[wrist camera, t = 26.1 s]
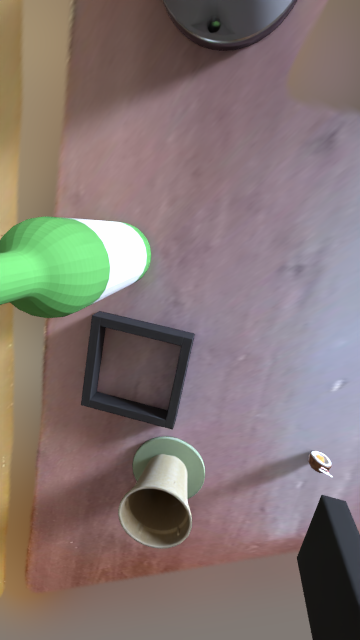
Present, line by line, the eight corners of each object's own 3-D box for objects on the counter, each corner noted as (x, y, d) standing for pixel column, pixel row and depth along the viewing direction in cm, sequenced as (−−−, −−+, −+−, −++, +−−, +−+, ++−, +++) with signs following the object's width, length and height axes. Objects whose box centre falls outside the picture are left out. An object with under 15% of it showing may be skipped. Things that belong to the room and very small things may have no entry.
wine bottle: (83, 253, 44) (-200, 293, 15) (122, 208, 42) (-124, 157, 13) (125, 295, 44) (-71, 412, 16) (165, 254, 42) (22, 302, 14)
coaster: (120, 453, 51) (118, 455, 50) (180, 425, 48) (179, 427, 48) (158, 508, 53) (157, 511, 52) (218, 484, 50) (218, 486, 49)
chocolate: (301, 456, 46) (307, 477, 43) (310, 444, 46) (317, 464, 42) (320, 466, 46) (328, 488, 43) (329, 455, 46) (338, 475, 42)
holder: (88, 396, 49) (80, 405, 47) (99, 310, 46) (92, 315, 43) (175, 419, 48) (172, 429, 46) (194, 333, 44) (192, 339, 42)
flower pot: (210, 462, 48) (205, 510, 40) (182, 507, 51) (172, 560, 43) (152, 432, 48) (135, 474, 40) (127, 478, 51) (107, 526, 43)
